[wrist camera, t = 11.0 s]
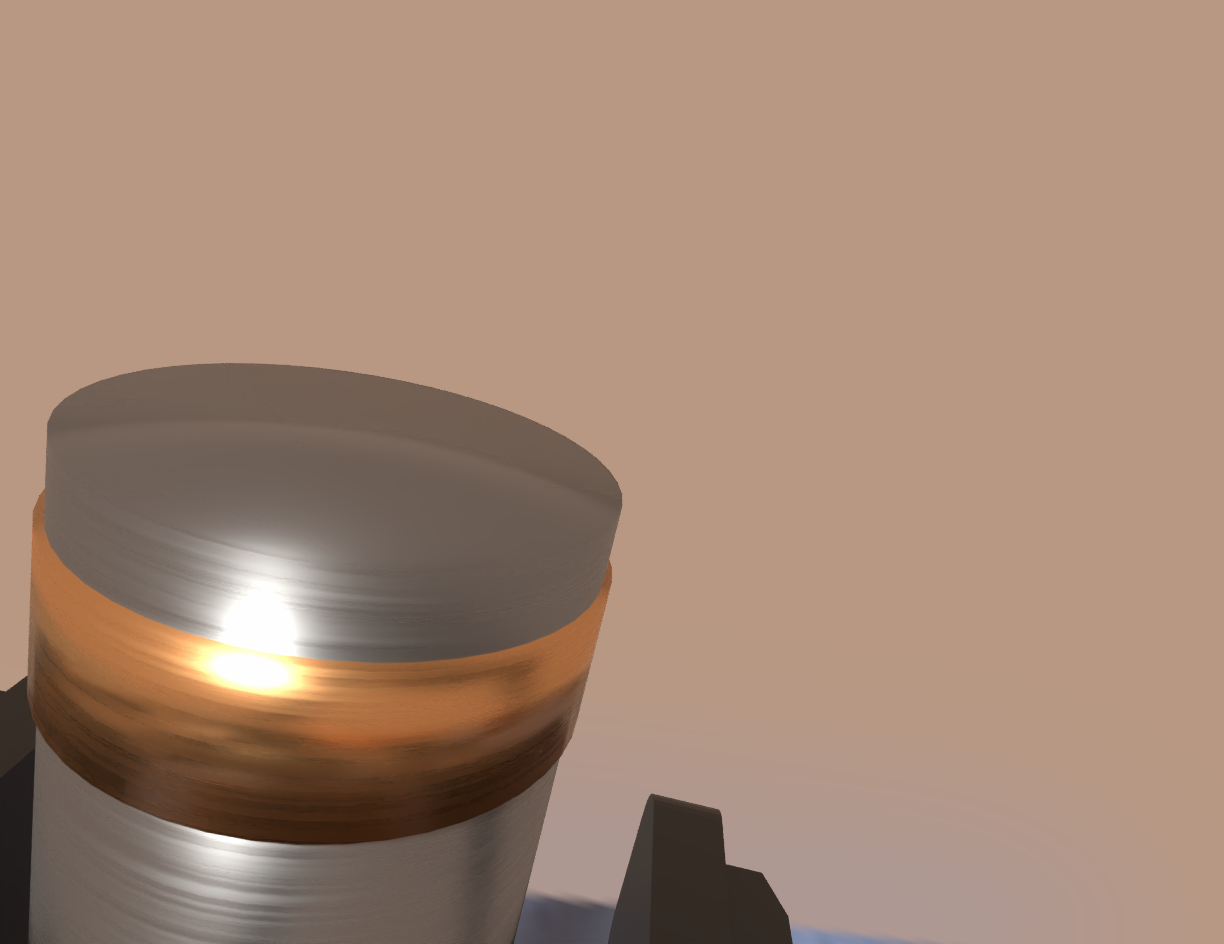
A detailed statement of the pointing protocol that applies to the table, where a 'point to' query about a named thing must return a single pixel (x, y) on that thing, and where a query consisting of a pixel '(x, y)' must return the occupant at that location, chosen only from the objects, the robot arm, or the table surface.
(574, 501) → the cylinder
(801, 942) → the table surface
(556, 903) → the table surface
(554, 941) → the table surface
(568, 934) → the table surface
